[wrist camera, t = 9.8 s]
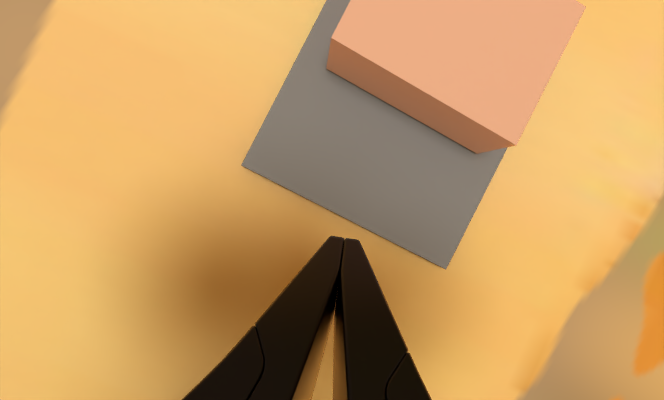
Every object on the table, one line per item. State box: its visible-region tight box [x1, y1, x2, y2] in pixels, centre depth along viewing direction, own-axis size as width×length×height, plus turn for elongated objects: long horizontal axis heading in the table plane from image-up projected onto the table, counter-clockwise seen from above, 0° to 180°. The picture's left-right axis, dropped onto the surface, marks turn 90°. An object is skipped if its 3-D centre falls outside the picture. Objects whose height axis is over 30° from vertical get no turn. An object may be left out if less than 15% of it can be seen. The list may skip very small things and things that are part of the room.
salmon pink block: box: [326, 0, 586, 154], centre depth 17 cm, size 4×12×9 cm
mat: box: [242, 0, 507, 269], centre depth 19 cm, size 19×16×1 cm
